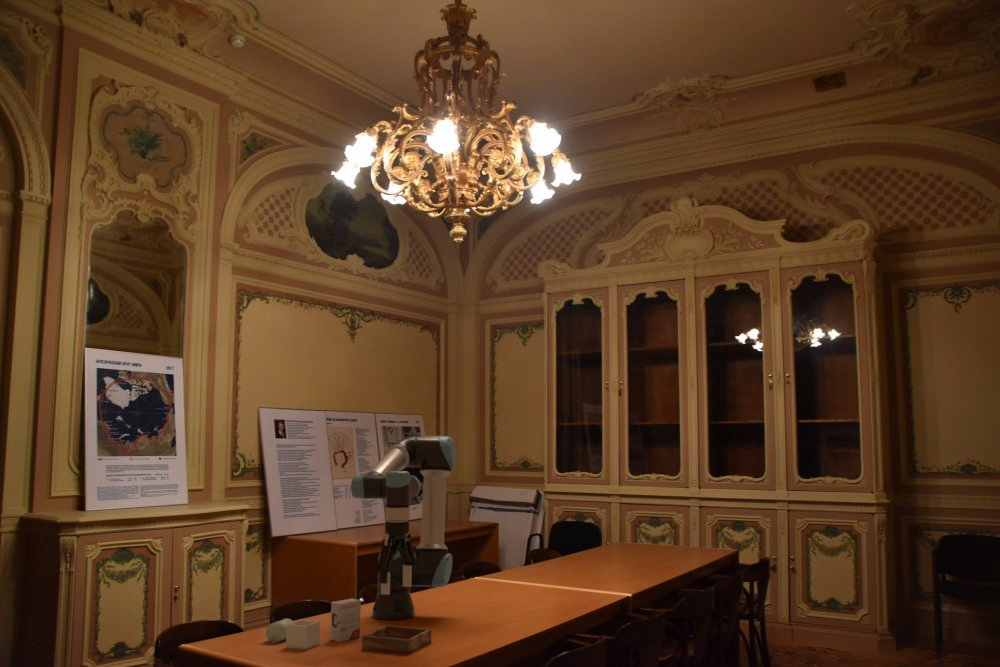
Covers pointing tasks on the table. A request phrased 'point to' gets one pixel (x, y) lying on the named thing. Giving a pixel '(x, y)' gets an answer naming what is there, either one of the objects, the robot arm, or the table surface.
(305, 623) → the small grey bin
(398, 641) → the crate
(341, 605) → the ink box
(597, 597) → the table surface
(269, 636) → the toppled green cylinder
